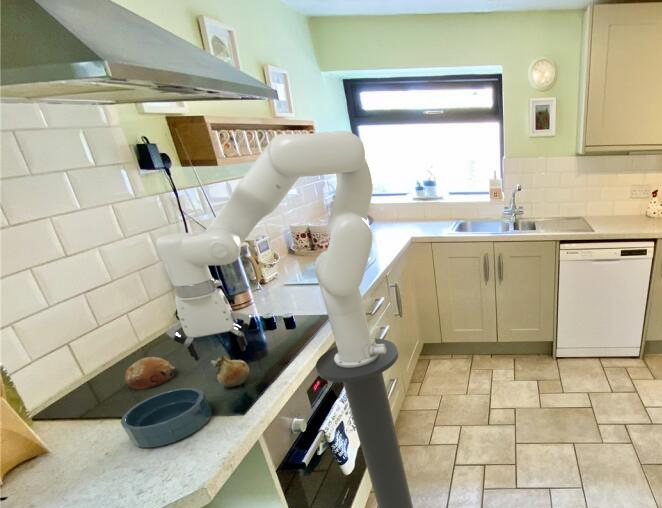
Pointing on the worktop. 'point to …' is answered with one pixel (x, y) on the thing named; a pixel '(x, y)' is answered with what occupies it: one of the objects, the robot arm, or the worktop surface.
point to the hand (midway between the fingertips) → (221, 353)
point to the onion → (230, 371)
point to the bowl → (166, 417)
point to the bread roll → (149, 373)
